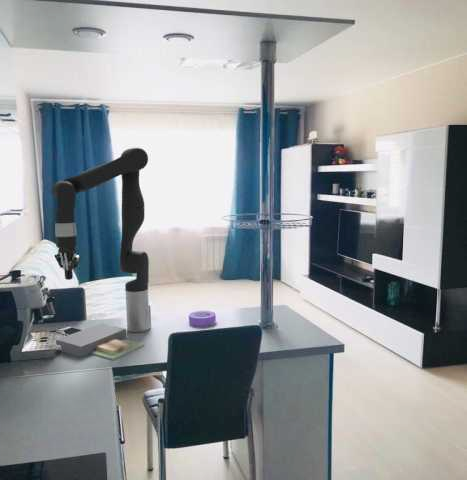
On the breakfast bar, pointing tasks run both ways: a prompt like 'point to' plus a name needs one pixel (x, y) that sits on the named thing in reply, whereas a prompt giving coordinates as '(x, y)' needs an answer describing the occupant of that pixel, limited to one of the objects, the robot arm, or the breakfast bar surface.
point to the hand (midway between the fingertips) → (68, 279)
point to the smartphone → (70, 330)
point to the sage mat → (133, 347)
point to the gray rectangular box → (90, 339)
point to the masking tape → (202, 318)
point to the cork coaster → (113, 346)
